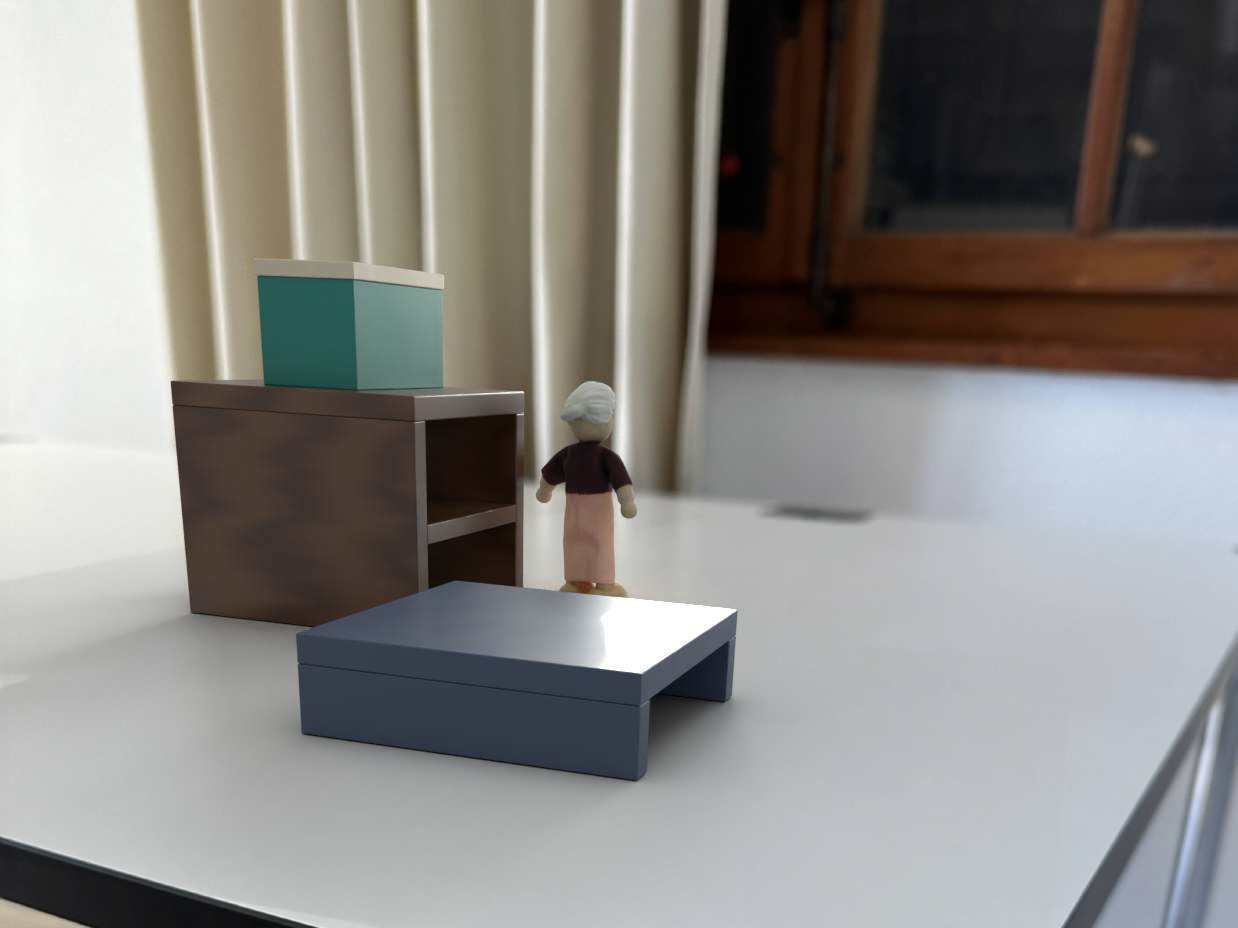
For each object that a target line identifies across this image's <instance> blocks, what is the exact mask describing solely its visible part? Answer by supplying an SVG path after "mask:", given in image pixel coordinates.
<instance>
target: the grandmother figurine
mask: <svg viewBox="0 0 1238 928" xmlns="http://www.w3.org/2000/svg"><path fill="white" fill-rule="evenodd" d="M615 409H616V394H615V392H614V390H612V388H611V386H609V385H608V384H605V383H603V382H598V381H592V380H591V381H584V382H583V383H582V384H580V385H578V386H577V388H575V390H573V392H572V393H570V394H569V396H567V398H566V401H565V403H564V404H563V405H562V410H561V411H560V413H559V418H560V419H561V420H562V421H563V422H566V424H567V425H568V426H570V428H571V432H572V433H573V436H574V437H575V438H576V439H577V440H578V442H575V443H570V444H568V445H566V446H564V447H562V448H561V449H560V450H558V451H557V452H555V454H554V455H552V457H551V458H550V459H549V460H548V461H547V462H546V463H545V465H543V466H542V468H541V469H540V473H541V478H540V480H539V487H538V488H537V490H536V492H535V498H536V500H537V501H538V502H539V503H541V504H548V503H549V502H550V501H551V500H552V497H553V491H554V490H555V489H556V488H557V486H558V485H561V484H565V485H564V494H565V495H564V496H565V507H564V517H563V533H562V535H563V536H562V549H563V550H562V551H563V575H564V576H563V577H564V581H565V583H564V584H563V585H562V586H561V587H560V588H559V590H558V591H561V592H571V593H581V594H590V595H600V596H610V597H620V598H629V594H628V591H627V589H626V588H625V587H624V586H623V585H621V584H620V583H618V582H616V558H615V555H616V554H615V507H614V498H613V491H614V493H615V494H616V498H617V502H618V504H619V505H620V507H619V508H620V510H619V511H620V515H621V516H622V517H623V518H624V519H626V520H627V519H628V520H631V519H634V518H635V517H636V516H637V514H638V506H637V504H636V503H635V494H634V493H635V492H634V489H633V485H634V483H633V481H632V478H631V476H630V474H629V472H628V470H627V467H626V465H625V463H624V461H623V459H622V457H621V456H620V455H619V454H618V453H617V452H616V451H614V450H613V449H612V448H609V447H607V446H605V445H602V444H601V443H603V442H604V441H606V440H607V439H608V438H609V437H610V435H611V434H612V431H613V426H614V420H613V419H614V418H613V415H614V410H615Z"/></svg>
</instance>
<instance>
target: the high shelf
mask: <svg viewBox="0 0 1238 928" xmlns="http://www.w3.org/2000/svg"><path fill="white" fill-rule="evenodd" d="M170 393H171V403H172V406H171V407H172V416H173V417H172V418H173V429H174V438H175V449H176V450H175V452H176V463H177V464H176V465H177V472H178V473H177V474H178V475H177V476H178V484H179V485H178V486H179V496H180V508H181V519H182V532H183V543H184V552H185V553H184V555H185V564H186V565H185V566H186V575H187V587H188V588H187V589H188V596H189V610H190V613H194V614H202V615H203V614H204V615H211V616H219V617H220V616H221V617H229V618H237V619H244V620H245V619H246V620H253V621H254V620H255V621H263V622H264V621H265V622H273V623H280V624H289V625H298V626H307V627H312V628H313V627H316V626H319V625H322V624H325V623H328V622H331V621H334V620H337V619H340V618H344V617H347V616H350V615H353V614H356V613H359V612H362V611H365V610H368V609H371V608H374V607H377V606H380V605H383V604H386V603H389V602H392V601H395V600H398V599H401V598H404V597H407V596H410V595H413V594H416V593H419V592H422V591H425V590H428V589H431V588H434V587H437V586H440V585H444V584H447V583H450V582H453V581H464V582H474V583H484V584H493V585H503V586H513V587H523V588H524V520H525V519H524V517H525V516H524V511H525V508H524V507H525V506H524V505H525V504H524V503H525V501H524V498H525V497H524V495H525V493H524V491H525V392H524V390H523V391H520V390H503V389H492V388H491V389H489V388H474V387H473V388H472V387H455V386H443V388H422V389H389V390H342V389H326V388H310V387H294V386H278V385H265V384H264V378H263V379H259V378H258V379H195V380H193V379H191V380H190V379H189V380H187V379H186V380H183V379H181V380H170Z"/></svg>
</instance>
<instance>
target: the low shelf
mask: <svg viewBox="0 0 1238 928" xmlns="http://www.w3.org/2000/svg"><path fill="white" fill-rule="evenodd" d="M738 612H739V611H738V609H735V608H727V607H726V608H725V607H716V606H705V605H697V604H688V603H687V604H686V603H678V602H677V603H676V602H666V601H657V600H647V599H639V598H630V597H628V598H620V597H610V596H600V595H590V594H581V593H571V592H561V591H559V590H553V589H552V590H551V589H541V588H531V587H530V588H529V587H524V586H523V587H513V586H503V585H493V584H484V583H474V582H464V581H453V582H450V583H447V584H444V585H440V586H437V587H434V588H431V589H428V590H425V591H422V592H419V593H416V594H413V595H410V596H407V597H404V598H401V599H398V600H395V601H392V602H389V603H386V604H383V605H380V606H377V607H374V608H371V609H368V610H365V611H362V612H359V613H356V614H353V615H350V616H347V617H344V618H340V619H337V620H334V621H331V622H328V623H325V624H322V625H319V626H316V627H313V626H312V627H311V628H307V629H304V630H302V631H298V632H296V633H295V641H296V644H295V645H296V659H297V677H298V678H297V679H298V693H299V694H298V697H299V711H300V714H299V715H300V729H301V730H300V731H301V733H302V734H305V735H310V736H311V735H312V736H320V737H325V738H333V739H339V740H340V739H341V740H347V741H354V742H362V743H370V744H376V745H383V746H390V747H397V748H404V749H411V750H419V751H426V752H431V753H439V754H446V755H454V756H461V757H467V758H474V759H483V760H489V761H495V762H496V761H497V762H504V763H510V764H517V765H525V766H531V767H539V768H546V769H553V770H560V771H566V772H567V771H568V772H575V773H582V774H589V775H596V776H603V777H610V778H615V779H616V778H617V779H624V780H631V781H638V780H639V779H640V778H642V776H644V775H645V774H646V773H647V771H648V753H649V733H650V731H649V729H650V709H651V708H650V707H651V700H650V699H652V698H653V697H654V696H656V695H657V694H659V695H668V696H675V697H684V698H691V699H700V700H707V701H717V702H723V703H724V702H727V701H728V700H729V699H730V698H732V696H733V687H734V686H733V685H734V670H735V657H736V641H737V636H736V635H737V628H738V627H737V626H738V625H737V624H738Z"/></svg>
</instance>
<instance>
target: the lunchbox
mask: <svg viewBox="0 0 1238 928" xmlns="http://www.w3.org/2000/svg"><path fill="white" fill-rule="evenodd" d="M252 260H253V274H254V276H256V280H257V296H258V311H259V328H260V329H259V330H260V341H261V343H260V344H261V357H262V358H261V359H262V373H263V375H262V376H263V379H264V384H265V385H278V386H294V387H310V388H326V389H342V390H389V389H422V388H443V387H444V333H443V331H444V330H443V329H444V328H443V325H444V324H443V322H444V321H443V291H444V290H445V274H442V273H436V272H435V273H434V272H429V271H421V270H414V269H407V268H401V267H400V268H399V267H393V266H387V265H379V264H372V263H366V262H365V263H364V262H360V261H351V260H350V261H348V260H347V261H346V260H320V259H319V260H318V259H317V260H316V259H289V258H265V257H263V258H261V257H260V258H259V257H254V258H253V259H252Z"/></svg>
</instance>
